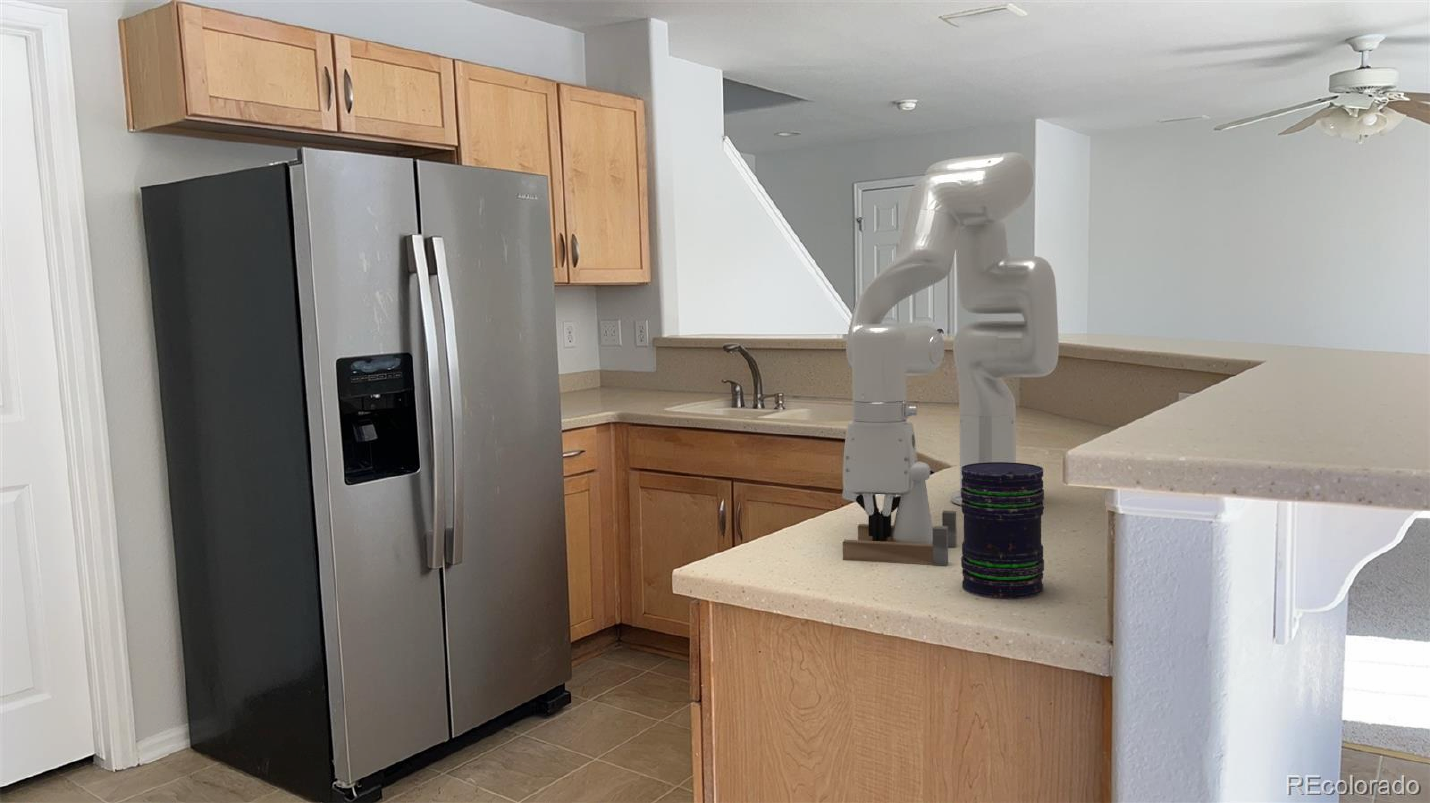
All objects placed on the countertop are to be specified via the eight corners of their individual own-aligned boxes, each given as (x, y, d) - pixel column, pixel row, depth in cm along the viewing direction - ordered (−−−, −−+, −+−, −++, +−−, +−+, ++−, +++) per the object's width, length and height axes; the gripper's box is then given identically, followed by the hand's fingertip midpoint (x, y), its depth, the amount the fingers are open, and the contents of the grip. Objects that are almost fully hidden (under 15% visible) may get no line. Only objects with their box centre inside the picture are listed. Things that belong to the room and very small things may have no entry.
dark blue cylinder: (950, 578, 129) (950, 463, 128) (1025, 575, 130) (1025, 460, 128) (976, 601, 119) (976, 476, 118) (1057, 597, 120) (1057, 473, 119)
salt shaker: (940, 552, 143) (943, 461, 142) (921, 560, 139) (924, 467, 137) (903, 545, 147) (905, 457, 145) (883, 553, 142) (886, 462, 141)
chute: (860, 539, 152) (859, 507, 151) (956, 544, 147) (956, 510, 146) (842, 559, 140) (842, 524, 140) (946, 565, 136) (946, 529, 135)
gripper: (936, 412, 143) (936, 539, 145) (833, 410, 148) (834, 533, 150) (929, 416, 136) (929, 550, 138) (821, 415, 141) (822, 544, 143)
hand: (880, 541), depth 144 cm, fingers closed
